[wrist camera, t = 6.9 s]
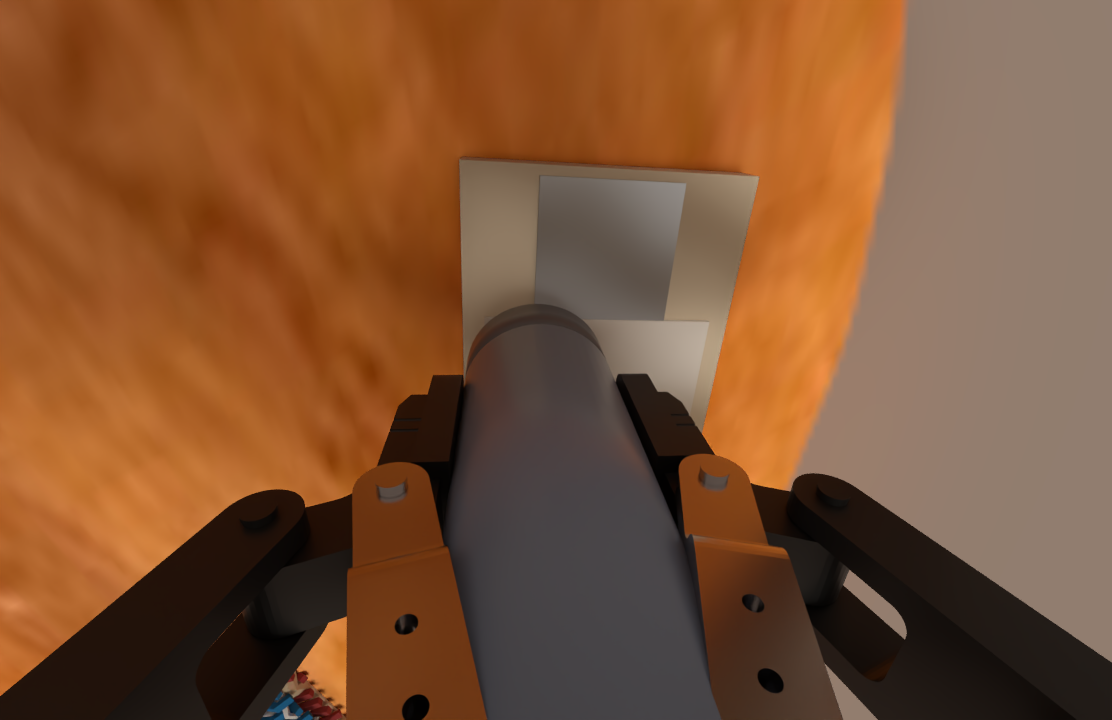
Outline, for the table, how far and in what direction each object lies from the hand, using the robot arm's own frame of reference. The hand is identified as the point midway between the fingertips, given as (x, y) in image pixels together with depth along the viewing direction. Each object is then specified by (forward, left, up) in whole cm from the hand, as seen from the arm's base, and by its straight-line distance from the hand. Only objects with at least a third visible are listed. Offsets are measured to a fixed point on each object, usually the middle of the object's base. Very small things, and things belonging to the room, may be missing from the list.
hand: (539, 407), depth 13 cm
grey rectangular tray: (-1, -4, -6) cm, 7 cm away
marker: (0, 0, -2) cm, 2 cm away
